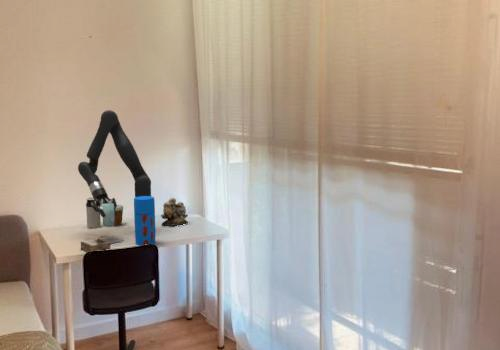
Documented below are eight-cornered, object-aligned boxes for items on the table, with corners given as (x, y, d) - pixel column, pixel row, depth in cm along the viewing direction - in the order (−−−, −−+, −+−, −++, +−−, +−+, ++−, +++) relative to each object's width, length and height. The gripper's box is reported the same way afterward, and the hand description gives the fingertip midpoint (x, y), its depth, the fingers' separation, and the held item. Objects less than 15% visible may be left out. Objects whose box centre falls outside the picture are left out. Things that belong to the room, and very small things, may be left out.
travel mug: (100, 228, 294) (98, 199, 292) (86, 228, 293) (85, 199, 290) (101, 224, 302) (100, 196, 299) (88, 225, 300) (86, 197, 298)
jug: (110, 223, 268) (110, 202, 267) (118, 226, 262) (118, 204, 261) (100, 225, 264) (100, 204, 262) (108, 228, 258) (108, 206, 256)
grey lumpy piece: (165, 228, 293) (164, 201, 291) (157, 225, 302) (156, 198, 300) (191, 224, 304) (190, 197, 301) (182, 220, 313) (181, 195, 311)
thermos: (137, 240, 267) (135, 196, 264) (156, 239, 268) (155, 195, 265) (134, 246, 256) (132, 199, 253) (154, 245, 257) (153, 199, 254)
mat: (113, 237, 273) (113, 236, 273) (123, 241, 266) (123, 240, 265) (95, 241, 265) (95, 240, 265) (105, 245, 258) (105, 244, 258)
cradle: (99, 245, 258) (98, 238, 257) (110, 249, 250) (109, 242, 250) (80, 249, 250) (80, 241, 250) (91, 253, 243) (91, 246, 242)
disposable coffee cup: (119, 227, 296) (119, 208, 294) (105, 226, 298) (104, 207, 296) (126, 223, 305) (126, 205, 304) (113, 222, 307) (112, 204, 306)
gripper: (88, 188, 261) (100, 213, 255) (112, 185, 272) (123, 209, 265) (83, 197, 266) (95, 221, 259) (107, 193, 276) (119, 217, 269)
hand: (109, 215), depth 262 cm, fingers closed on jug, 6 cm apart
